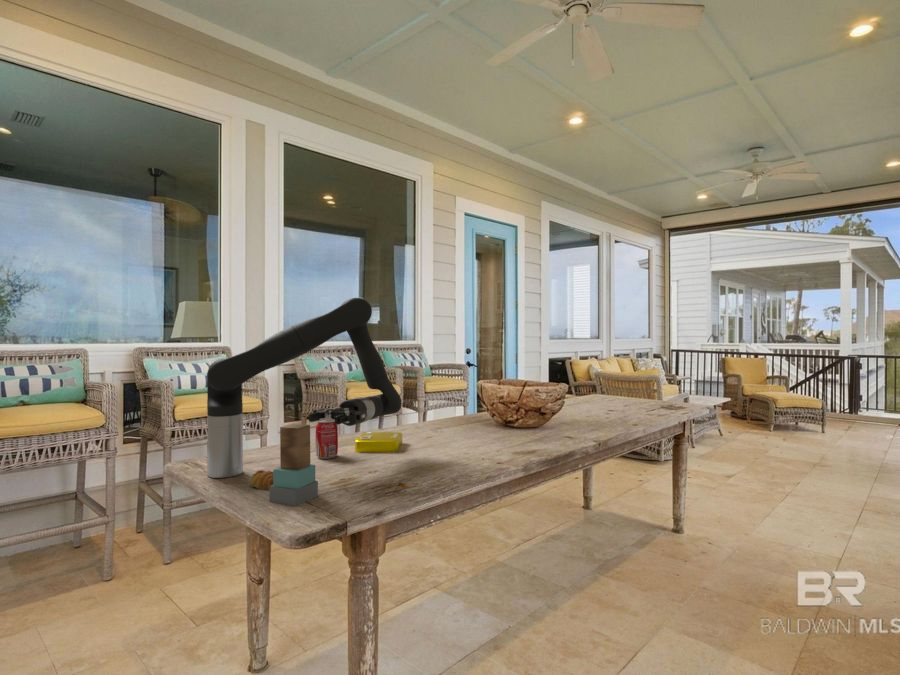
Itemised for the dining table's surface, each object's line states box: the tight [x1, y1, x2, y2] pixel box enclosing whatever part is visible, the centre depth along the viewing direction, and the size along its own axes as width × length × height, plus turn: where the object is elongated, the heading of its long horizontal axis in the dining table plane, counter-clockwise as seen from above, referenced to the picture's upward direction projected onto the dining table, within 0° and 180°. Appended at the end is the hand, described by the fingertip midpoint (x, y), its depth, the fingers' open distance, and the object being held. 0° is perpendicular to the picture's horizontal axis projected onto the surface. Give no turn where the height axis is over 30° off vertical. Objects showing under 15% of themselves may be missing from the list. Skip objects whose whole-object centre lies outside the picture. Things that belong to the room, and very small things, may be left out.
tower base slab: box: [268, 480, 319, 507], centre depth 120 cm, size 8×8×4 cm
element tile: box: [354, 431, 403, 453], centre depth 174 cm, size 15×15×5 cm
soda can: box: [315, 420, 339, 460], centre depth 160 cm, size 7×7×12 cm
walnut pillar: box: [279, 423, 311, 470], centre depth 120 cm, size 5×5×10 cm
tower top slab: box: [272, 463, 316, 489], centre depth 120 cm, size 7×7×4 cm
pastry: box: [249, 470, 273, 490], centre depth 130 cm, size 9×7×4 cm
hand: (322, 419), depth 130 cm, fingers open, 8 cm apart
